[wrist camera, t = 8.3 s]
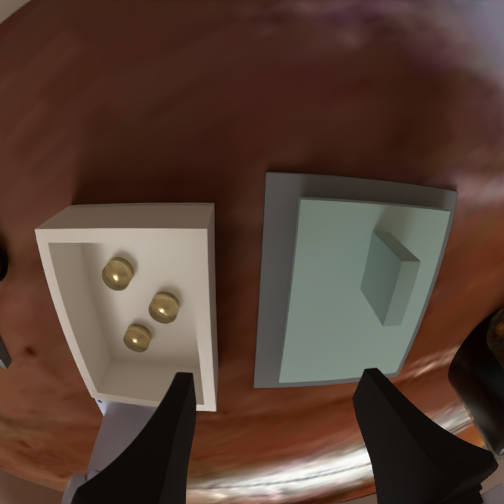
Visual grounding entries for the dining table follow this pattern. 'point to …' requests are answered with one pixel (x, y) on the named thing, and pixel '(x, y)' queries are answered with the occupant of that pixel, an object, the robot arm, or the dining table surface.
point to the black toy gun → (3, 360)
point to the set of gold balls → (160, 307)
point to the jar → (483, 380)
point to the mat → (282, 248)
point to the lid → (357, 285)
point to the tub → (136, 296)
